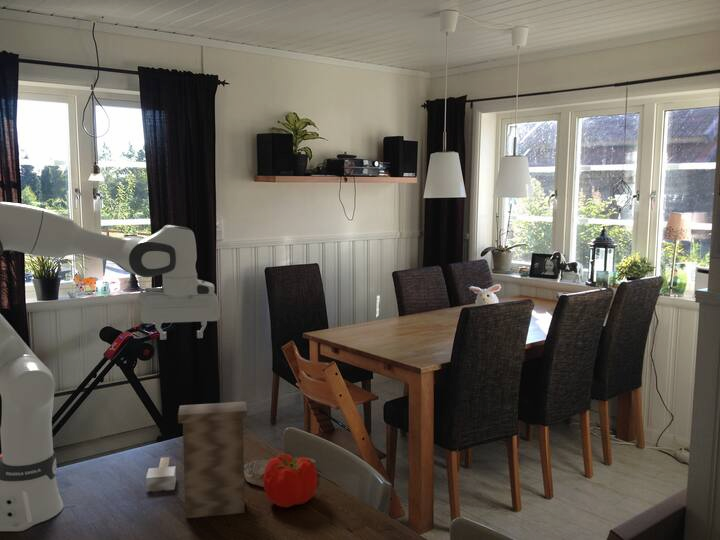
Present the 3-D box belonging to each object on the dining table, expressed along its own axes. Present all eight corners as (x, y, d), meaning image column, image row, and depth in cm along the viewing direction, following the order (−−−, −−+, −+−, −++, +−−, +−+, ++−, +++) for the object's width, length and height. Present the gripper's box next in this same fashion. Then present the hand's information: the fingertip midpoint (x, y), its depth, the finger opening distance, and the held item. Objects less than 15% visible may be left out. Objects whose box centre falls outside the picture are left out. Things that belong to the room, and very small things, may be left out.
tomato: (253, 506, 165) (252, 461, 163) (287, 484, 177) (287, 442, 175) (297, 520, 158) (296, 474, 157) (329, 496, 170) (329, 453, 169)
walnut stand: (181, 519, 158) (177, 415, 155) (182, 506, 165) (179, 405, 162) (248, 513, 161) (247, 410, 158) (247, 500, 168) (246, 401, 165)
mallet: (146, 492, 172) (146, 477, 172) (152, 467, 187) (152, 454, 187) (174, 490, 174) (173, 475, 173) (178, 465, 189) (177, 452, 188)
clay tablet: (236, 490, 174) (312, 489, 174) (236, 472, 174) (312, 471, 174) (246, 468, 188) (316, 468, 188) (246, 452, 188) (316, 451, 188)
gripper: (137, 289, 168) (139, 342, 170) (219, 287, 173) (220, 339, 174) (140, 286, 175) (142, 337, 176) (219, 284, 179) (220, 334, 180)
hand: (181, 338), depth 175 cm, fingers open, 8 cm apart
